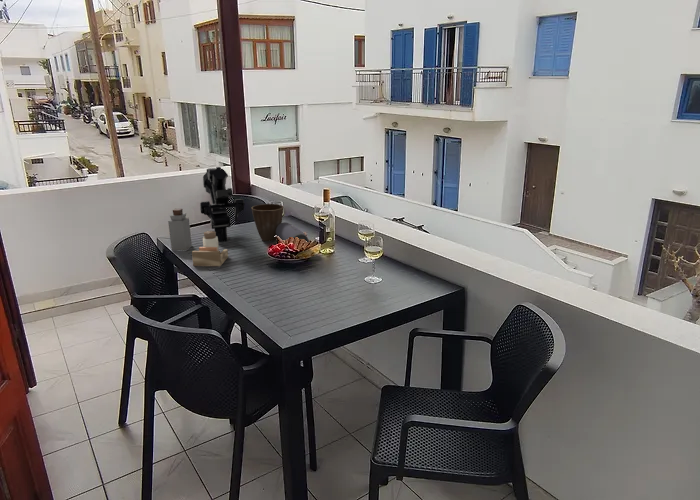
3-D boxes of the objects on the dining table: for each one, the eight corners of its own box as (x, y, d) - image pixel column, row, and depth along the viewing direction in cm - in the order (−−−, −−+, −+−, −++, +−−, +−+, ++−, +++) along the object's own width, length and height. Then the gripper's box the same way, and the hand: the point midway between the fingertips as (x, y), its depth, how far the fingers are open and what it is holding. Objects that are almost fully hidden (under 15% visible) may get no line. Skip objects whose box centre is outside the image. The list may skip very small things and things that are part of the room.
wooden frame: (202, 256, 200) (201, 243, 199) (228, 257, 200) (227, 243, 198) (193, 265, 190) (191, 251, 188) (220, 266, 189) (219, 252, 187)
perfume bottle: (186, 250, 209) (182, 211, 204) (171, 250, 209) (166, 211, 204) (191, 246, 215) (187, 207, 210) (177, 245, 216) (172, 207, 210)
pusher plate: (201, 261, 193) (199, 246, 191) (218, 262, 193) (217, 247, 191) (200, 262, 192) (198, 247, 190) (217, 263, 192) (216, 248, 190)
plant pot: (250, 237, 229) (248, 205, 224) (279, 233, 235) (278, 202, 230) (258, 245, 216) (255, 211, 211) (289, 241, 222) (287, 208, 217)
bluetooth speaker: (310, 253, 205) (310, 231, 202) (290, 256, 201) (289, 234, 198) (293, 240, 225) (293, 220, 221) (275, 242, 221) (274, 222, 218)
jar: (211, 257, 200) (209, 229, 196) (222, 259, 197) (220, 231, 194) (201, 261, 195) (198, 233, 191) (212, 263, 192) (210, 235, 189)
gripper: (198, 183, 199) (203, 214, 192) (242, 180, 205) (248, 210, 199) (198, 198, 208) (203, 228, 202) (240, 195, 215) (246, 224, 208)
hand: (225, 222), depth 202 cm, fingers open, 9 cm apart
